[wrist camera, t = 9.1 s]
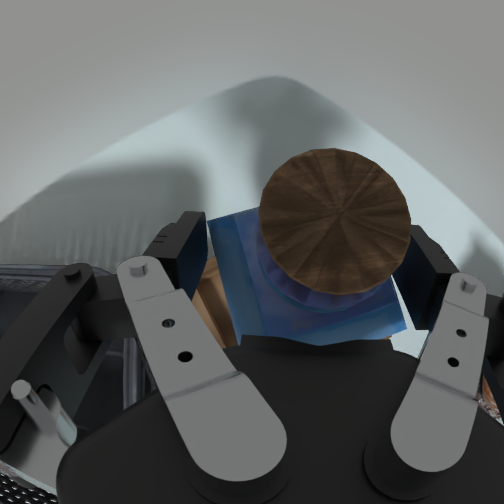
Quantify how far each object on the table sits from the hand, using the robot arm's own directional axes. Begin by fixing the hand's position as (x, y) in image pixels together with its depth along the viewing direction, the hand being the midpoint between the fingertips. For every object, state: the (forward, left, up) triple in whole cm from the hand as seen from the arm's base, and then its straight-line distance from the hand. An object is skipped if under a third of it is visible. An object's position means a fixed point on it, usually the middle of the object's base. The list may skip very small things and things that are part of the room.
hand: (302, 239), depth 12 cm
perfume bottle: (+1, -1, -6) cm, 7 cm away
